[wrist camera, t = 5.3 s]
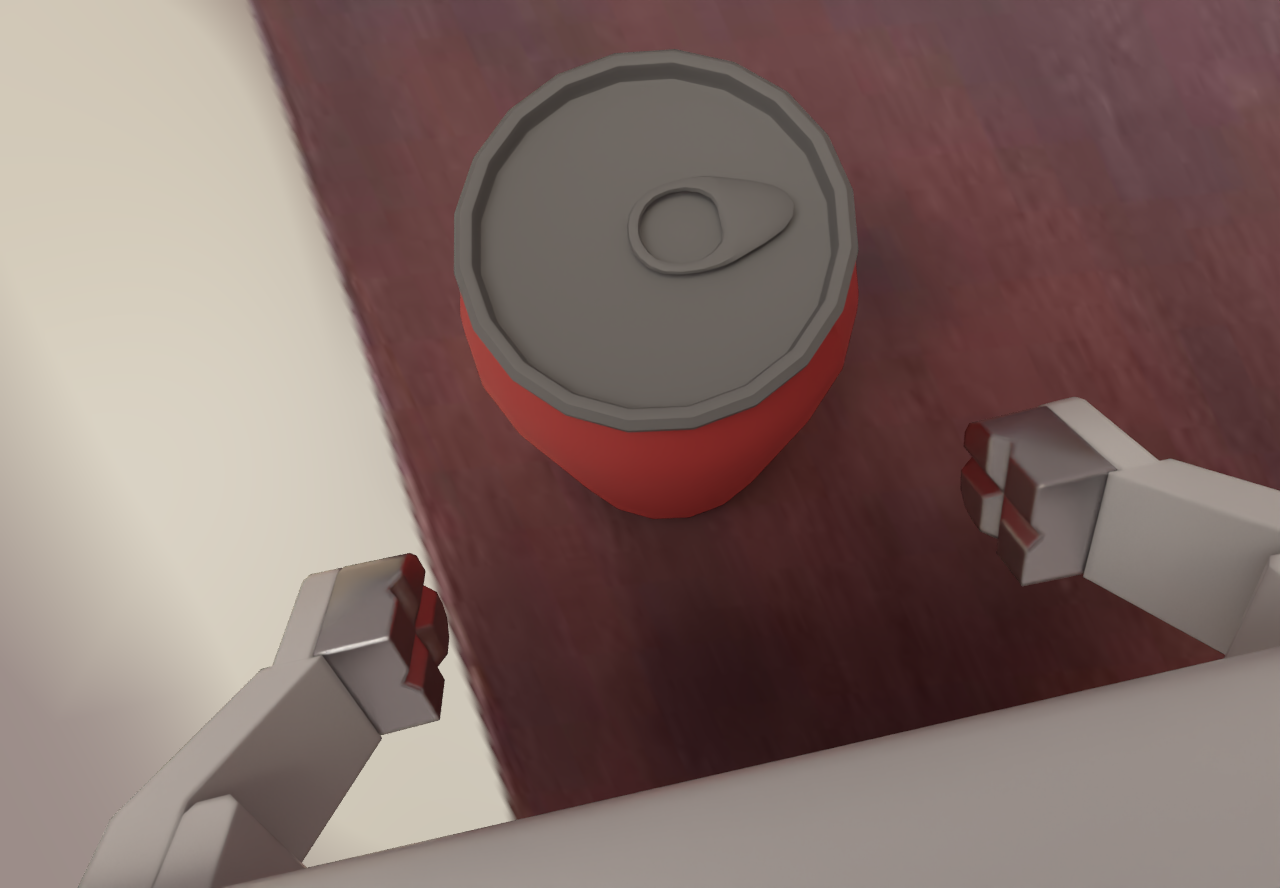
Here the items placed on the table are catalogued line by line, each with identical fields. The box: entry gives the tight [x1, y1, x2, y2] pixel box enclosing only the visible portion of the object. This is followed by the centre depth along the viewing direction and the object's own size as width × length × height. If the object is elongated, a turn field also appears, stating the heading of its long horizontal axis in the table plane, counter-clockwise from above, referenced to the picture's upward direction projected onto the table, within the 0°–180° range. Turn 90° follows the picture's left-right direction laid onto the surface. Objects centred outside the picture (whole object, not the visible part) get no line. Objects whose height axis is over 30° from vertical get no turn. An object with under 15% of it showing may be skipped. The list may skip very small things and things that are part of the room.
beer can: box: [454, 49, 858, 519], centre depth 16 cm, size 7×7×12 cm
